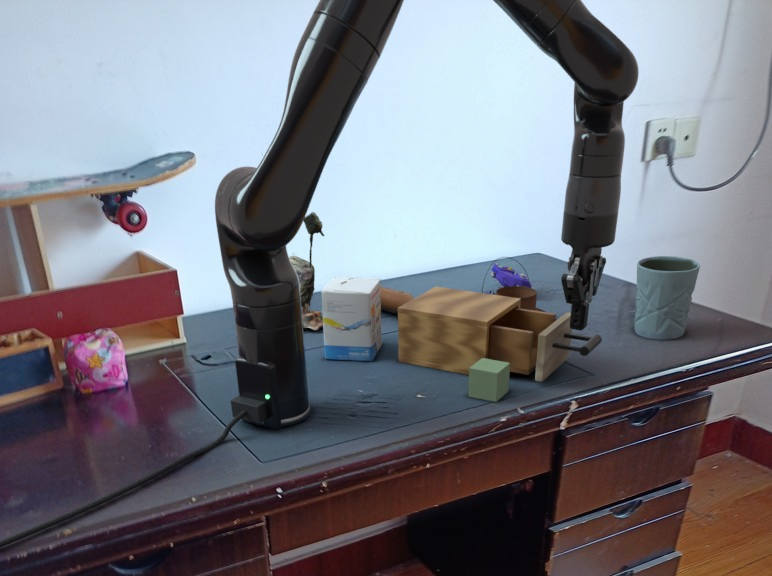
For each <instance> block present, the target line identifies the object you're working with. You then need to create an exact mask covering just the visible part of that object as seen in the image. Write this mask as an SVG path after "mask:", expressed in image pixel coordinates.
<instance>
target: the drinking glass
mask: <svg viewBox="0 0 772 576" xmlns="http://www.w3.org/2000/svg"><path fill="white" fill-rule="evenodd" d="M700 267H701V264H700V263H699V261H697V260H695V259H691V258H688V257H684V256H683V257H682V256H672V255H671V256H670V255H660V256H650V257H644V258H642V259H640V260H638V261H637V264H636V294H635V314H634V332H635V334H636V335H638V336H640V337H643V338H645V339H651V340H658V341H670V340H676V339H679V338H681V337H683V336H684V334H685V332H686V326H687V323H688V317H689V316H688V314H689V312H690V309H691V306H692V305H691V304H692V301H693V293H694V291H695V288H696V285H697V280H698V276H699V272H700Z"/></svg>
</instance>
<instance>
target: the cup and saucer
mask: <svg viewBox="0 0 772 576" xmlns="http://www.w3.org/2000/svg"><path fill="white" fill-rule="evenodd" d="M495 295H499V296H506V297H513V298H520V299H521V303H520V308H521V309H527V310H534V311H541V312H546V311H545V310H544V309H541V308H539V307H537V299H538V291H537V289H535V288H533V287H531V288H529V287H524V286H508V287H503V286H502V287H500V288H498V289H496V290H495Z"/></svg>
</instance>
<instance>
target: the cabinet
mask: <svg viewBox="0 0 772 576" xmlns="http://www.w3.org/2000/svg"><path fill="white" fill-rule="evenodd" d="M520 303H521V299H520V298H513V297H506V296H499V295H496V294H491V293H490V294H486V293H485V292H483V293H482V292H477V291H471V290H465V289H464V290H462V289H456V288H449V287H442V286H433V288H431V289H428V290H427V291H425V292H423V293H421V294H419V295H418V296H416V297H414V299H413V300H411V301H409V302H407V303H405V304H404V305H402V306H400V307H398V314H397V340H398V343H397V345H398V363H403V364H409V365H414V366H420V367H424V368H430V369H436V370H439V371H445V372H450V373H456V374H460V375H466V376H469V368H470V367H471V366H472V365H474V364H475V363H476V362H478V361H479V360H480V359H482V358H485V359H488V341H489V325H491V324H492V323H494V322H495V321H496V320H498V319H499V318H501V317H502V316H504V315H505V314H506V313H508V312H509V311H511V310H512V309H513V308H520Z"/></svg>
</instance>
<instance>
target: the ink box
mask: <svg viewBox="0 0 772 576" xmlns="http://www.w3.org/2000/svg"><path fill="white" fill-rule="evenodd" d="M380 286H381V278H373V277H358V276H357V277H356V276H355V277H354V276H345V277H333V278H332V279H331V280H330V281H329V282H328V283H327V284H326V285H325V286H324V287H323V288H322V289H321V290H320V293H321V309H322V310H321V314H322V317H323V326H322V332H323V350H324V359H325V360H340V361H357V362H373V361H374V359H375V358H376V356H377V354H378V353H379V350H380V348H381V347H382V345H383V341H382V339H383V338H382V309H381V295H380Z"/></svg>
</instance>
